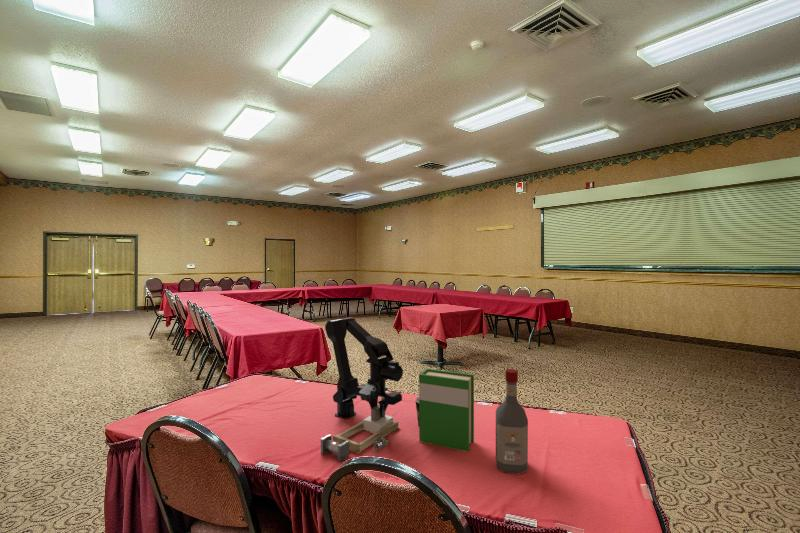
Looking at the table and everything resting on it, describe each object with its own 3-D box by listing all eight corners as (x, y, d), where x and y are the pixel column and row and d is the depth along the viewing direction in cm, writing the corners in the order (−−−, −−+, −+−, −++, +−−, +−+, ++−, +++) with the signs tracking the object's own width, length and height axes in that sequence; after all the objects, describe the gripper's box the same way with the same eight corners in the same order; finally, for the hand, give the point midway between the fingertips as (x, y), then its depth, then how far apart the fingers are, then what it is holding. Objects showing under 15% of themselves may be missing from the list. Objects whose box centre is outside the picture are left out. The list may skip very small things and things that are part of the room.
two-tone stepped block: (363, 429, 147) (363, 407, 147) (376, 422, 154) (376, 400, 153) (380, 435, 143) (379, 412, 142) (393, 427, 149) (393, 405, 149)
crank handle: (376, 451, 132) (376, 442, 132) (367, 446, 135) (367, 438, 135) (388, 444, 136) (388, 435, 136) (380, 440, 139) (380, 432, 139)
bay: (333, 444, 137) (332, 435, 137) (375, 420, 155) (375, 412, 155) (357, 453, 130) (357, 444, 130) (398, 427, 149) (398, 419, 149)
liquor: (528, 475, 117) (529, 376, 116) (497, 472, 118) (497, 374, 117) (524, 459, 126) (524, 367, 125) (495, 456, 127) (495, 365, 126)
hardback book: (473, 441, 137) (473, 374, 136) (468, 451, 131) (468, 381, 130) (426, 432, 145) (426, 368, 144) (419, 441, 138) (419, 374, 137)
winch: (320, 453, 130) (320, 438, 130) (329, 448, 134) (329, 434, 133) (340, 461, 125) (340, 446, 125) (348, 456, 128) (348, 441, 128)
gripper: (344, 376, 146) (345, 417, 147) (384, 386, 135) (384, 430, 136) (364, 369, 155) (364, 407, 156) (402, 377, 144) (403, 419, 145)
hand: (378, 416), depth 148 cm, fingers open, 3 cm apart
